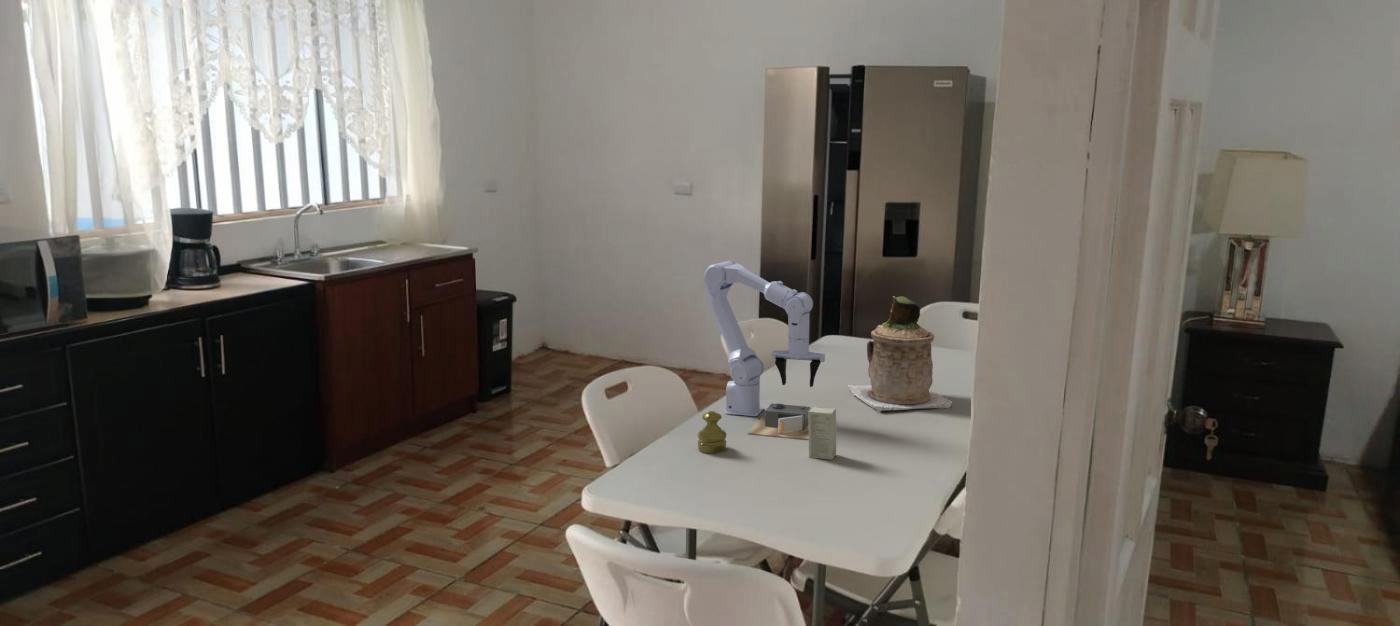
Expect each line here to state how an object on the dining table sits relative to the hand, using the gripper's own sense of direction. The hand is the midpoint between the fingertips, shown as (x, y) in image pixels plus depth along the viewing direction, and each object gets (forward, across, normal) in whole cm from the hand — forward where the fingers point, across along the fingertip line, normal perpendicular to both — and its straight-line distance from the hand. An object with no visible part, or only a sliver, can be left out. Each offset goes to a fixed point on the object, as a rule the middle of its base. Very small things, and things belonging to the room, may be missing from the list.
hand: (797, 385), depth 270 cm
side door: (+10, +1, -11) cm, 15 cm away
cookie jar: (+10, +26, +27) cm, 39 cm away
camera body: (+10, -2, -5) cm, 11 cm away
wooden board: (+10, -2, -7) cm, 13 cm away
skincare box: (+10, +11, -27) cm, 31 cm away
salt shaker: (+11, -17, -28) cm, 35 cm away
